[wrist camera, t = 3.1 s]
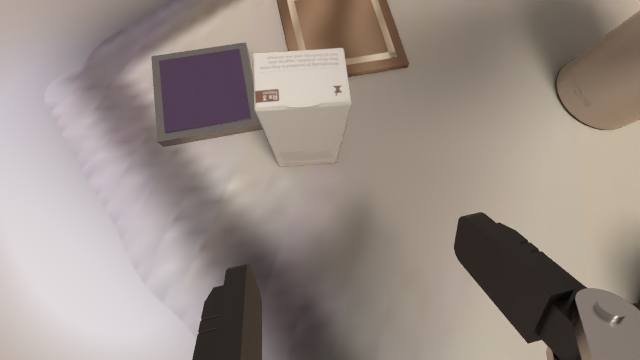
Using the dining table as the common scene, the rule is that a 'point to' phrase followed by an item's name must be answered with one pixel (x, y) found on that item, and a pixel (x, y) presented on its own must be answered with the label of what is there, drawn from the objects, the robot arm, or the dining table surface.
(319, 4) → the marked board
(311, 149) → the skincare box
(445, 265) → the dining table surface
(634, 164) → the dining table surface
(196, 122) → the ink pad
